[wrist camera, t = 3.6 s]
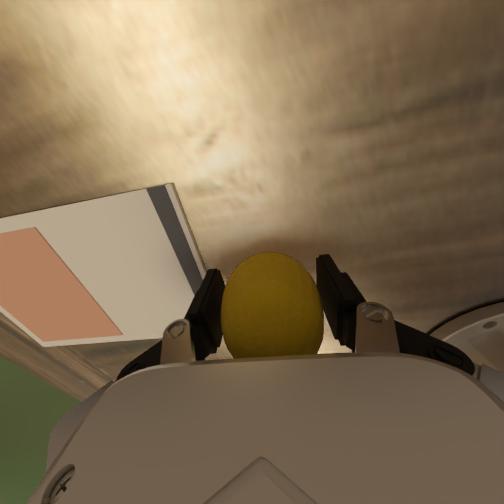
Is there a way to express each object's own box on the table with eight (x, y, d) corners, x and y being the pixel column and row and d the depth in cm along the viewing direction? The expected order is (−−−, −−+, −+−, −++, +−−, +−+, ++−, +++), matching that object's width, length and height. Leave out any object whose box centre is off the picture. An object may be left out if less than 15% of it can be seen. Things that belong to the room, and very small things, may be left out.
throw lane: (172, 183, 11) (169, 184, 11) (228, 330, 18) (227, 333, 17) (-84, 235, 14) (-93, 237, 14) (46, 344, 21) (42, 347, 20)
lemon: (236, 293, 15) (214, 411, 8) (228, 233, 13) (186, 335, 6) (302, 292, 15) (336, 416, 8) (308, 231, 12) (369, 337, 5)
